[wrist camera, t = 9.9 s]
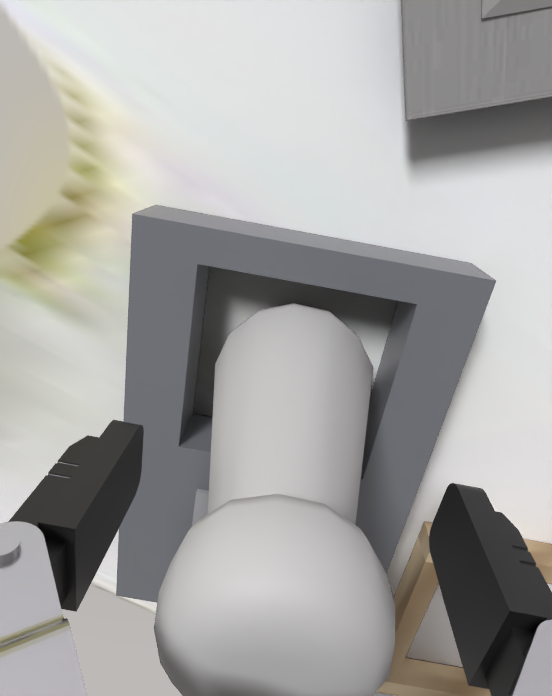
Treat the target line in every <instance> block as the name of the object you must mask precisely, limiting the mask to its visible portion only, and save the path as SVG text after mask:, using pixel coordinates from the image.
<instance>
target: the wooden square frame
mask: <svg viewBox="0 0 552 696" xmlns="http://www.w3.org/2000/svg"><path fill="white" fill-rule="evenodd" d="M432 524H433V523H430V522H424V523H423V526H422V528H421V531H420V534H419V536H418V539H417V541H416V544H415V546H414V549H413V551H412V554H411V556H410V559H409V561H408V564H407V566H406V569H405V571H404V574H403V576H402V579H401V581H400V584H399V586H398V589H397V591H396V594H395V596H394V603H395V646H394V652H393V658H392V664H391V670H390V676H389V678H388V679H387V680H386V682H385V683H384V684H383V685H382V686H381V687H380V688H379V689H378V690H377V691H376V692H380V693H385V694H391V695H397V696H491V693H490V690H489V689H485V688H479V687H474V686H469V685H468V683H467V679H466V676H465V672H464V669H463V668H460V667H454V666H449V665H443V664H437V663H431V662H425V661H420V660H414V659H408V658H405V657H406V655H407V653H408V651H409V648H410V646H411V644H412V642H413V639H414V637H415V635H416V633H417V630H418V628H419V626H420V624H421V621H422V619H423V617H424V615H425V612H426V610H427V608H428V606H429V603H430V601H431V599H432V597H433V595H434V592H435V590H436V588H437V586H438V583H439V582H438V578H437V575H436V571H435V568H434V564H433V561H432V557H431V554H430V549H429V535H430V529H431V526H432ZM523 540H524V542H525V543H526V545H527V547H528V552H530V553H531V555H532V556H533V558H534V560H535V562H536V567H538V568H539V570H540V571H541V573H542V575H543V577H544V579H545V581H546V583H550V584H552V544H548V543H543V542H537V541H531V540H526V539H523Z"/></svg>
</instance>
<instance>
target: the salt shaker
mask: <svg viewBox="0 0 552 696" xmlns="http://www.w3.org/2000/svg"><path fill="white" fill-rule="evenodd" d="M372 374H373V366H372V364H371V362H370V360H369V358H368V355H367V353H366V351H365V349H364V347H363V345H362V343H361V341H360V339H359V337H358V336H357V334H356V333H355V332H354V331H353V330H351V329H350V328H349V327H348V326H347V325H345V324H344V323H343V322H342V321H340V320H339V319H338V318H337V317H336V316H334V315H333V314H332V313H331V312H330V311H326V310H322V309H317V308H313V307H308V306H304V305H299V304H295V303H293V304H288V305H283V306H277V307H272V308H267V309H262V310H259V311H258V312H256V313H255V314H254V315H252V316H251V317H250V318H248V319H247V320H246V321H244V322H243V323H242V324H240V325H239V326H238V327H237V328H235V329H234V330H233V331H232V332H231V333H230V334H229V336H228V338H227V340H226V342H225V344H224V347H223V349H222V351H221V353H220V355H219V357H218V359H217V361H216V363H215V380H214V400H213V419H212V439H211V459H210V478H209V498H208V514H207V515H206V516H204V517H203V518H201V519H199V520H198V521H196V523H195V524H194V525H193V526H192V527H191V529H190V530H189V531H188V533H187V534H186V536H185V538H184V540H183V541H182V543H181V545H180V547H179V549H178V550H177V552H176V554H175V556H174V558H173V559H172V561H171V563H170V565H169V568H168V570H167V573H166V576H165V578H164V581H163V583H162V586H161V588H160V591H159V595H158V602H157V610H156V618H155V625H154V631H155V636H156V642H157V647H158V653H159V658H160V663H161V665H162V667H163V668H164V670H165V672H166V673H167V675H168V677H169V679H170V680H171V682H172V683H173V685H174V686H175V687H176V688H177V689H178V690H179V692H180V693H181V694H182V695H183V696H372V695H373V694H374V693H375V692H376V691H377V690H378V689H379V688H380V687H381V686H382V685H383V684H384V683H385V682H386V680H387V679H388V678H389V676H390V670H391V664H392V658H393V652H394V646H395V603H394V599H393V595H392V592H391V588H390V584H389V580H388V577H387V574H386V572H385V570H384V568H383V567H382V565H381V563H380V561H379V559H378V557H377V556H376V554H375V552H374V550H373V548H372V547H371V545H370V543H369V541H368V539H367V538H366V536H365V535H364V533H363V532H362V530H361V529H360V528H359V527H357V526H356V525H355V524H356V515H357V506H358V497H359V489H360V480H361V471H362V462H363V453H364V445H365V436H366V427H367V418H368V410H369V401H370V392H371V383H372Z"/></svg>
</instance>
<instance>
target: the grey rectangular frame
mask: <svg viewBox="0 0 552 696" xmlns="http://www.w3.org/2000/svg"><path fill="white" fill-rule="evenodd" d="M209 266H211V267H216V268H222V269H227V270H233V271H238V272H244V273H249V274H255V275H260V276H266V277H271V278H277V279H282V280H287V281H293V282H298V283H304V284H309V285H315V286H320V287H326V288H331V289H337V290H342V291H348V292H353V293H358V294H364V295H369V296H375V297H380V298H386V299H391V300H397V301H398V303H397V307H396V310H395V314H394V317H393V320H392V324H391V327H390V331H389V334H388V338H387V341H386V344H385V348H384V351H383V355H382V358H381V362H380V365H379V368H378V372H377V375H376V379H375V382H374V385H373V389H372V392H371V396H370V401H369V410H368V418H367V427H366V436H365V445H364V453H363V462H362V471H361V480H360V489H359V497H358V506H357V515H356V524H355V525H356V526H357V527H359V528H360V529H361V530H362V532H363V533H364V535H365V536H366V538H367V539H368V541H369V543H370V545H371V547H372V548H373V550H374V552H375V554H376V556H377V557H378V559H379V561H380V563H381V565H382V567H383V568H384V570H385V572H386V573H387V570H388V567H389V565H390V562H391V559H392V557H393V554H394V551H395V549H396V546H397V543H398V541H399V538H400V535H401V533H402V530H403V527H404V525H405V522H406V519H407V517H408V514H409V511H410V509H411V506H412V503H413V501H414V498H415V495H416V493H417V490H418V487H419V485H420V482H421V479H422V477H423V474H424V472H425V469H426V466H427V464H428V461H429V458H430V456H431V453H432V450H433V448H434V445H435V442H436V440H437V437H438V434H439V432H440V429H441V426H442V424H443V421H444V418H445V416H446V413H447V410H448V408H449V405H450V402H451V400H452V397H453V394H454V392H455V389H456V386H457V384H458V381H459V378H460V376H461V373H462V370H463V368H464V365H465V362H466V360H467V357H468V354H469V352H470V349H471V347H472V344H473V341H474V339H475V336H476V333H477V331H478V328H479V325H480V323H481V320H482V317H483V315H484V312H485V309H486V307H487V304H488V301H489V299H490V296H491V293H492V291H493V288H494V285H495V283H496V280H495V279H493V278H492V277H490V276H489V275H487V274H486V273H485V272H483V271H482V270H480V269H479V268H477V267H476V266H475V265H473V264H472V263H468V262H463V261H457V260H452V259H446V258H441V257H435V256H430V255H425V254H419V253H414V252H408V251H403V250H398V249H392V248H387V247H381V246H376V245H370V244H365V243H360V242H354V241H349V240H343V239H338V238H333V237H327V236H322V235H316V234H311V233H305V232H300V231H295V230H289V229H284V228H278V227H273V226H268V225H262V224H257V223H251V222H246V221H240V220H235V219H230V218H224V217H219V216H213V215H208V214H203V213H197V212H192V211H186V210H181V209H175V208H170V207H165V206H159V205H154V206H151V207H149V208H146V209H143V210H141V211H138V212H136V213H133V214H132V237H131V260H130V284H129V307H128V331H127V355H126V378H125V402H124V422H128V423H133V424H139V425H142V426H143V429H144V436H143V453H142V470H141V478H140V483H139V486H138V490H137V493H136V495H135V497H134V499H133V501H132V503H131V505H130V507H129V509H128V511H127V513H126V515H125V517H124V519H123V521H122V523H121V525H120V527H119V543H118V567H117V591H116V595H117V596H123V597H128V598H134V599H140V600H146V601H151V602H158V595H159V591H160V588H161V586H162V583H163V581H164V578H165V576H166V573H167V570H168V568H169V565H170V563H171V561H172V559H173V558H174V556H175V554H176V552H177V550H178V549H179V547H180V545H181V543H182V541H183V540H184V538H185V536H186V534H187V533H188V531H189V530H190V529H191V527H192V526H193V525H194V524H195V523H196V521H198V520H199V519H201V518H203V517H204V516H206V515H207V514H208V498H209V478H210V459H211V439H212V419H213V417H209V416H203V415H198V414H193V407H194V398H195V390H196V381H197V372H198V363H199V354H200V346H201V337H202V328H203V319H204V310H205V302H206V293H207V284H208V275H209Z"/></svg>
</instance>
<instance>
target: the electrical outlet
mask: <svg viewBox="0 0 552 696" xmlns="http://www.w3.org/2000/svg"><path fill="white" fill-rule="evenodd" d="M401 5H402V32H403V59H404V86H405V113H406V121H410V120H416V119H422V118H428V117H434V116H440V115H446V114H452V113H458V112H465V111H471V110H477V109H483V108H489V107H495V106H501V105H507V104H513V103H519V102H525V101H531V100H537V99H543V98H549V97H552V0H401Z"/></svg>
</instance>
